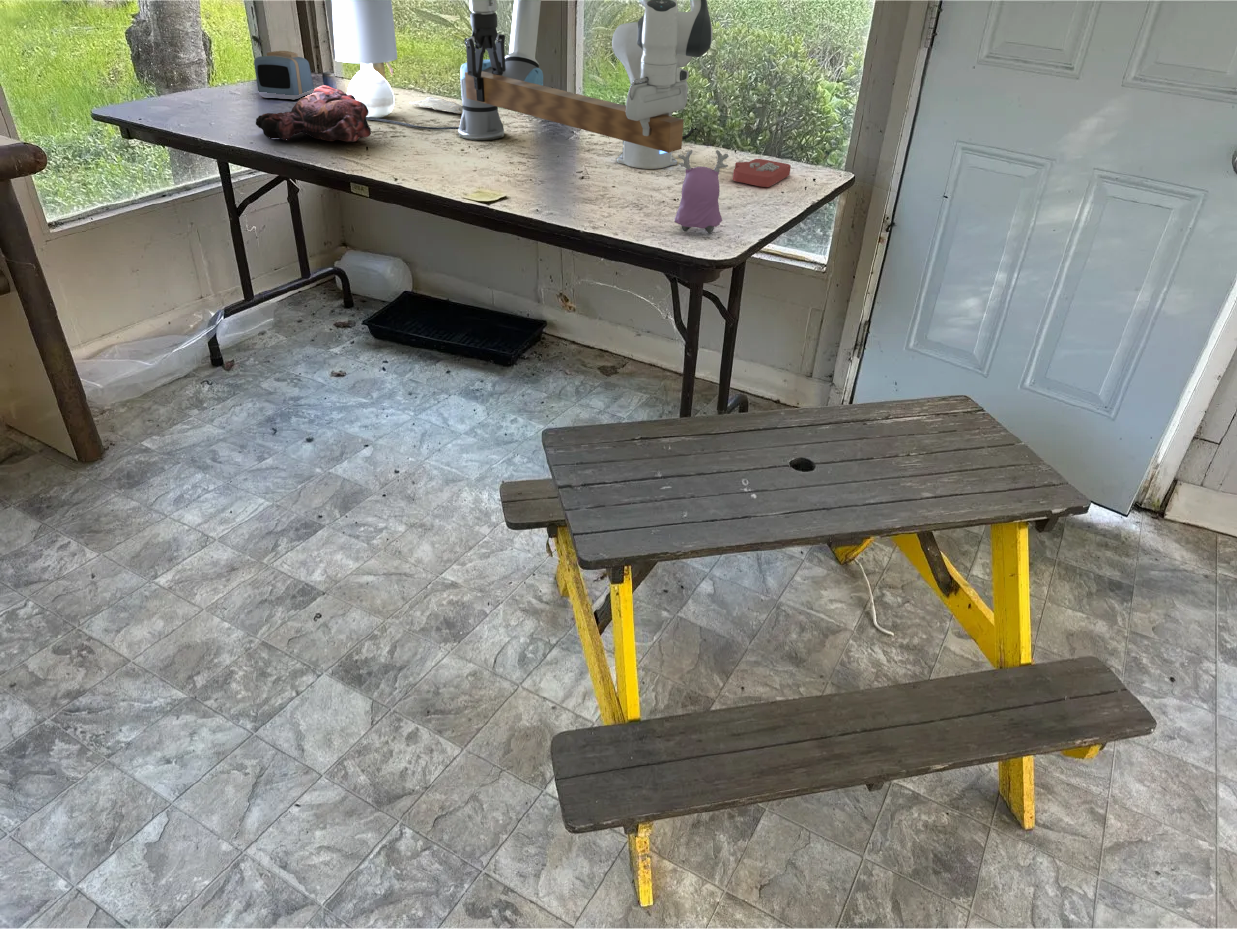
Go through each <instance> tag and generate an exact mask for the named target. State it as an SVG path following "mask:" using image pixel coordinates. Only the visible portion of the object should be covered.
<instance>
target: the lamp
mask: <svg viewBox="0 0 1237 929" xmlns="http://www.w3.org/2000/svg"><path fill="white" fill-rule="evenodd" d="M324 3H325V9H326V18H327V23H328V30H329V37H330V45H331V51H332V58H333V60H334V61H336V62H341V63H348V64H360V70H358V71H357V72H356V74H354V76H353V77H352V79H351V80H350V82H349V84H348V87H347V92H346V94H348V95H349V94H352V95H353V96H354V97H355V99H356V100H358V101H360V102H362V103H364V104H365V105H366V107H367V109H368V110H369V114H368V116H366V117H370V118H379V119H383V118H385V117H387V116H389V115H390V114H391V113H392V111H393V110H394V107H395V103H396V102H395V99H394V98H395V95H394V91H393V89H392V87H391V85H390V83H389V82H388V81H386V80H387V79H386V80H385V79H384V78H383V77H382V76H381V75H380V74H379V73H378V72H376V71H375V70H374V69H373V65H372V63H385V62H389V63H390V62H393V61H396V60H397V59H398V50H397V40H396V31H395V21H394V13H393V2H392V0H324Z"/></svg>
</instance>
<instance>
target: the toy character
mask: <svg viewBox="0 0 1237 929" xmlns="http://www.w3.org/2000/svg"><path fill="white" fill-rule="evenodd" d="M692 154H693V149H690V150H689V151H687V152H686V154H685V155H684V154H677V157H678V159H680V160H682V161H683V162H679V163H678V165H679V166H680V167H681V168H682V167H683V168H685V176H684V179H683V183H682V187H681V198H680V202H679V206H678V208H677V210H676V214H675V217H674V223H676V224H678V225H680V227H681V230H682V231H683V232H684V233H686V232H687V231H689V230H690V229H691V228H699V229H704V230H705V232H707V234H711V233H713V231H714V228H716V227H718V226H721V223H722V222H723V218H722V215H721V212H720V203H719V197H720V181H719V174H720V169H723V168H728V166H729V165H728V164H724V161H725V160H726V159H728V158H730V157H729V156H730V155H729V154H728V153H723V154H722V153H721V151H720V150H718V149H716V150H715V154H716V157H717V160H716V165H715V167H714V168H713V169H712V168H711V167H707V166H695V167H691V164H690V157H691V155H692Z"/></svg>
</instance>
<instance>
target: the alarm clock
mask: <svg viewBox="0 0 1237 929" xmlns="http://www.w3.org/2000/svg"><path fill="white" fill-rule="evenodd" d="M253 65H254V72H255V77H256V78H255V79H256V86H257V92H258V91H259V92H267V93H276V94H285V95H299V94H302V93H304V92H307V91H309V90H311V89H315V85H314V81H313V76H312V72H311V67H310V62H309V60H307V59H306V58H305V57H302V56H299V55H298V53H296V52H293V51H289V50H275V51H269V52H266V55H261V56H257V57H256V58H254V60H253Z"/></svg>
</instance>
